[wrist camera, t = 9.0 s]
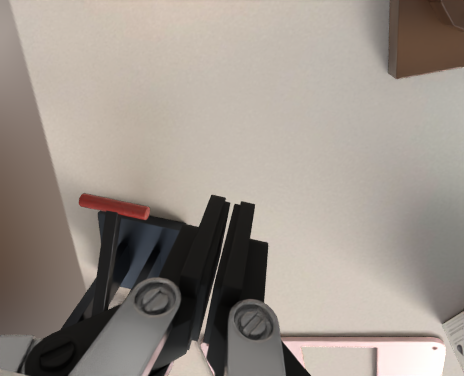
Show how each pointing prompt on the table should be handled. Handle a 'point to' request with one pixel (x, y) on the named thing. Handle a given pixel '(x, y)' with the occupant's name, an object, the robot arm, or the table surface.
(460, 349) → the ink box
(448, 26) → the block
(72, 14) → the table surface
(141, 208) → the lever
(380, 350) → the panel
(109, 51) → the table surface
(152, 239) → the bracket
